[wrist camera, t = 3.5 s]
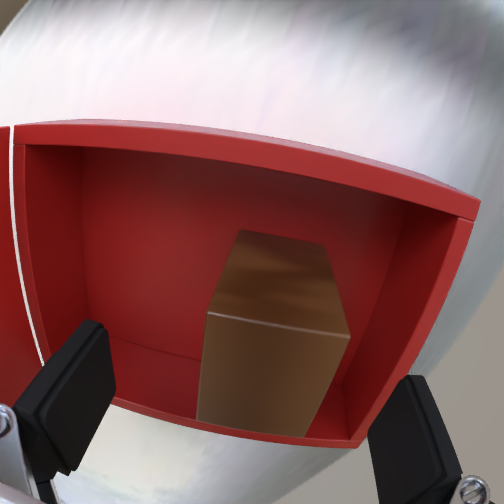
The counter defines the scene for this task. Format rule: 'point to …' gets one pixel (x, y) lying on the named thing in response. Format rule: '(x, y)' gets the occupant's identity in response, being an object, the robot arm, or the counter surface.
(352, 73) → the counter surface
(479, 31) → the counter surface
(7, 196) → the lid
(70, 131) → the red shallow rectangular box
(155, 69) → the counter surface
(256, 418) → the block
